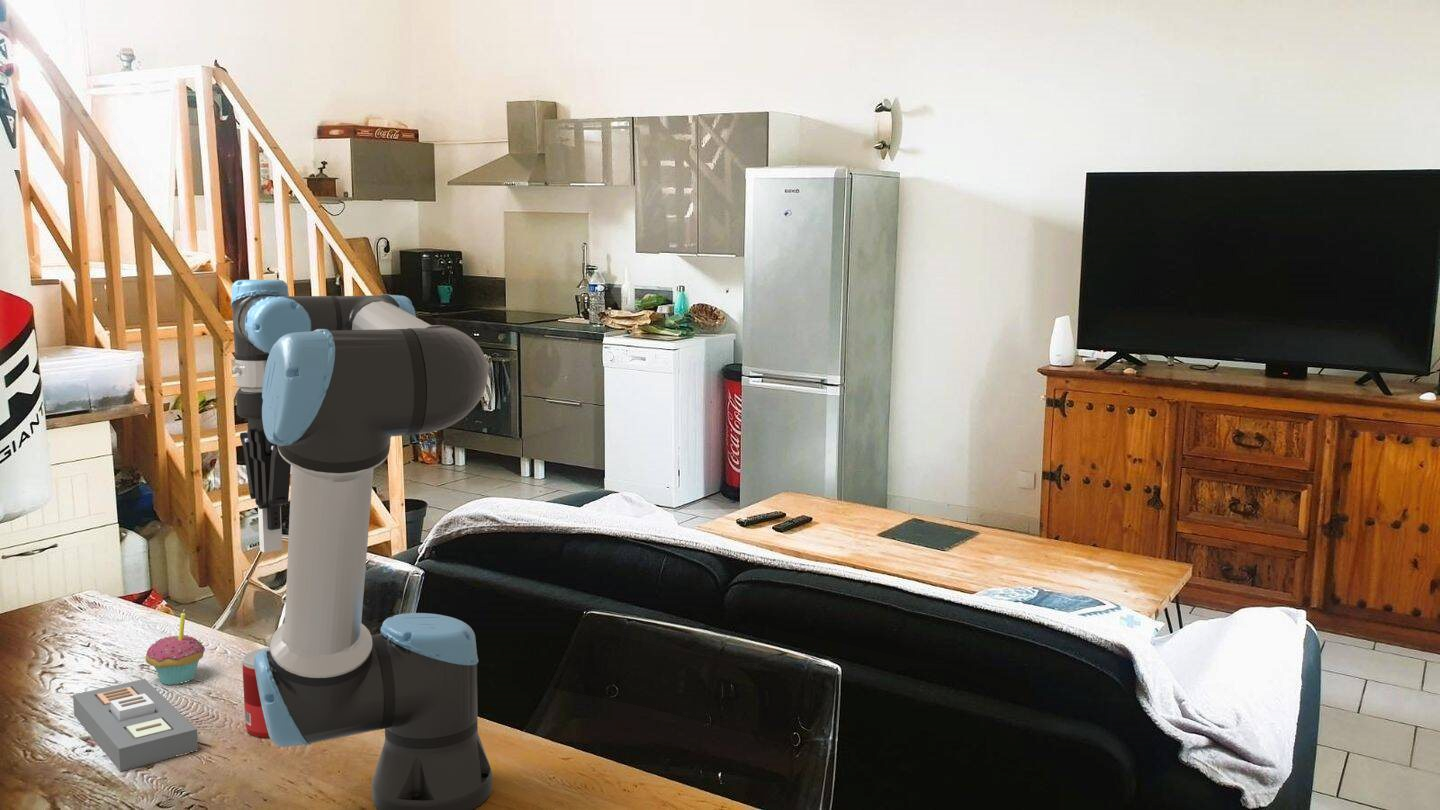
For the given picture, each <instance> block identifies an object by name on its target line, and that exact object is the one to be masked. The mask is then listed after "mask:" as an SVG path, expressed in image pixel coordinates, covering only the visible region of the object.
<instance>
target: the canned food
mask: <svg viewBox="0 0 1440 810" xmlns="http://www.w3.org/2000/svg"><path fill="white" fill-rule="evenodd" d="M264 650H269V651H270V647H265V648H258V649H256V650H253V651H250V652H248V653H247V654H245V655H244V656H243V657H242V684H243V704H244V722H245V725H244V726H245V729H246V731H247V732H248V734H249V733H250V734H249V735H250V736H252V735H253V737H255V736H257V737H256V738H260V737H263V738H262V739H269V738H268V737H269V734H268V730H267V727H266V723H265V719H264V714H263V710H262V705H261V701H260V696H259V690H258V685H257V679H256V673H255V666H254V658H255V656H256V655H257V654H258V653H261V652H263V651H264ZM264 737H265V738H264ZM266 737H267V738H266Z"/></svg>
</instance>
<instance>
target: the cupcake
mask: <svg viewBox="0 0 1440 810" xmlns="http://www.w3.org/2000/svg"><path fill="white" fill-rule="evenodd" d="M185 610H186V609H185V608H184V609H183V611H182V613H180V619H179V620H180V622H179V631H178V632H179V633H178V635H174V636H173V635H172V636H167V637H166V636H165V637H163V638H159V639H158V640H156V641H155V642H154V643H152V644H151V645H150V647H148V648H147V651H146V654H145V662H146V664H148V665H149V666H153V667H154V669H155V670H156V672H157V675H158V677H159V680H160V682H161V683H162V684H163V683H164V684H163V685H166V684H177V683H181V682H185V681H188V680H191V679H192V678H193V677H194V678H195V673H196V670H197V666H198V664H199V662H200V660H202V659H203V657H204V652H205V651H206V648H205V646H204V645H203V644H202V642H201V641H200V640H198V639H196V638H195V637H193V636H190V635H186V634H184V633H185V621H186V611H185ZM194 678H193V679H194ZM193 679H192V680H193ZM192 680H191V681H192Z"/></svg>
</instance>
